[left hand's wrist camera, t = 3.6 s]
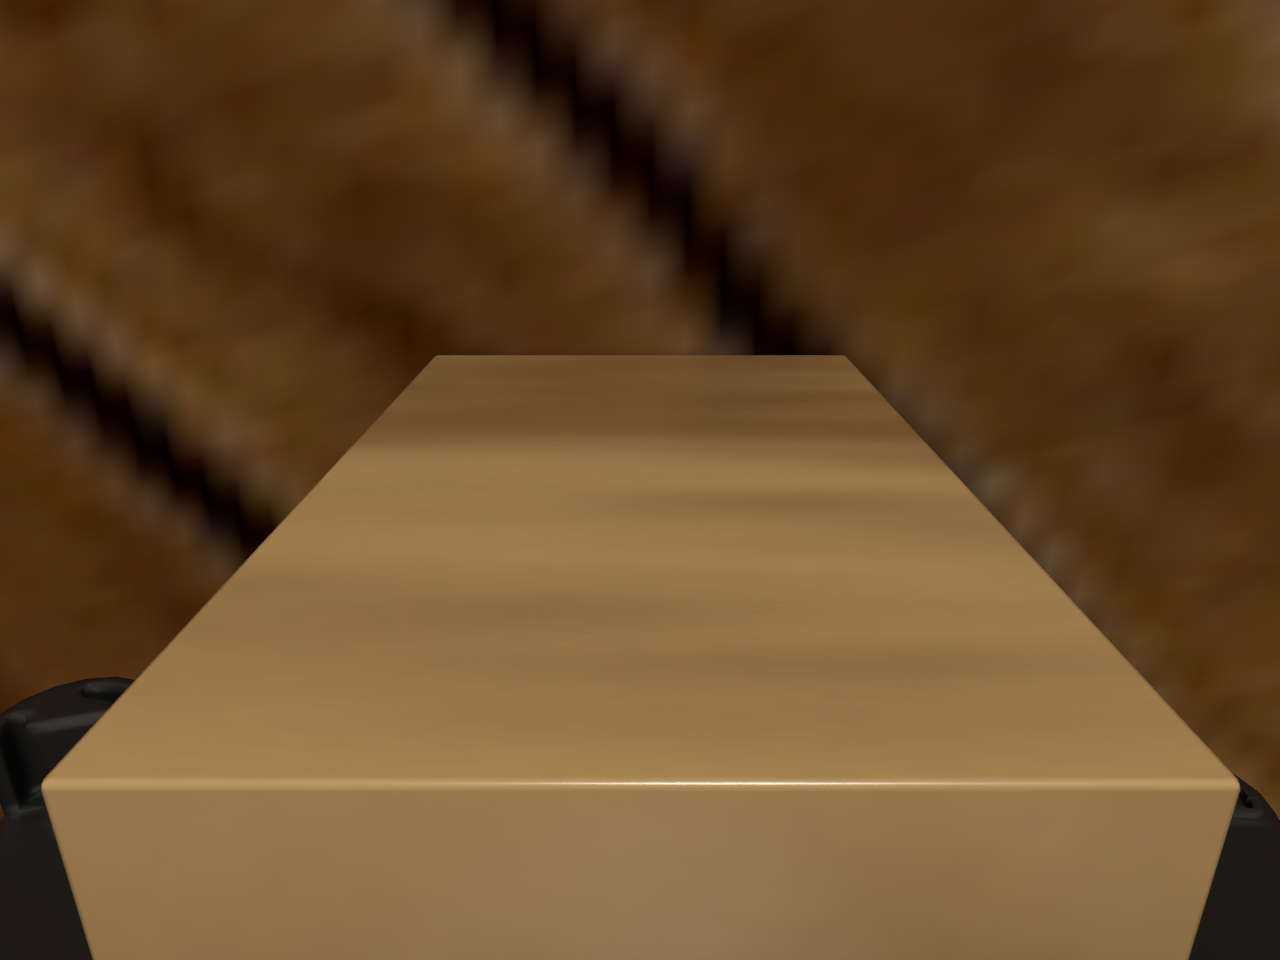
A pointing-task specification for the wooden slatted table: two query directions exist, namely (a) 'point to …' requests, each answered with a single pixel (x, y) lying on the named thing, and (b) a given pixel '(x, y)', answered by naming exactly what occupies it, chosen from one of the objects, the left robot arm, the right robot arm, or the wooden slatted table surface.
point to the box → (640, 702)
